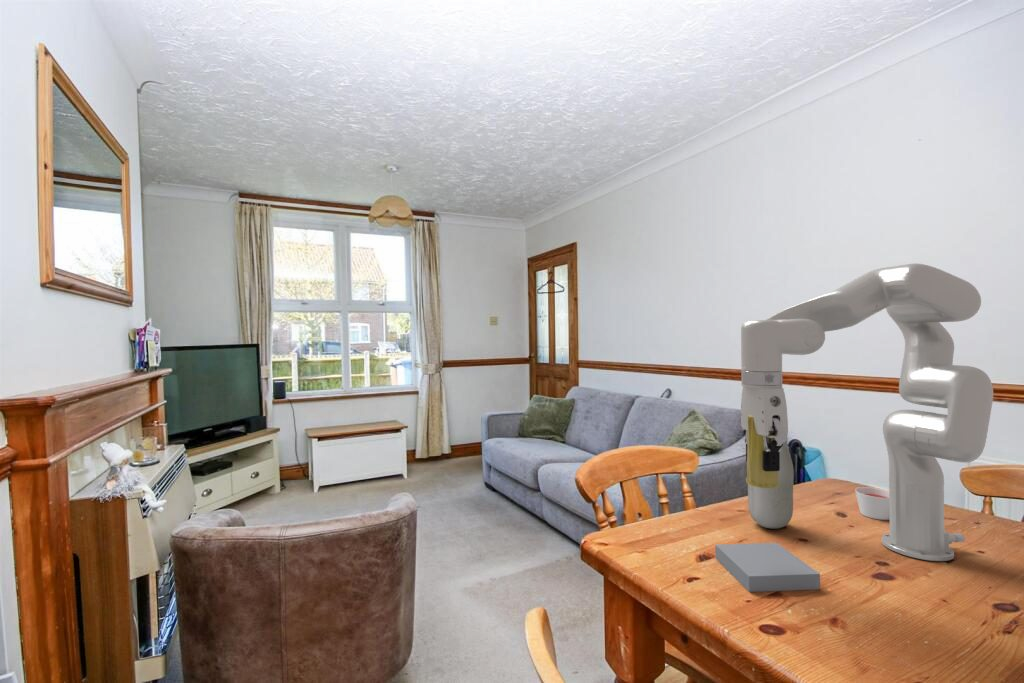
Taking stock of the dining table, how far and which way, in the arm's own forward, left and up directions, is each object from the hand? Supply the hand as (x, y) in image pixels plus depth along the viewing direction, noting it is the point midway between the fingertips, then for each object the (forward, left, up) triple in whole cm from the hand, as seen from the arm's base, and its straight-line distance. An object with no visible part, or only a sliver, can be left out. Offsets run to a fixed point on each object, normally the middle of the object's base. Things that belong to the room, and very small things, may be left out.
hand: (762, 465), depth 98 cm
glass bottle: (-15, -23, -23) cm, 36 cm away
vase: (0, 0, -4) cm, 4 cm away
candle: (-47, -28, -23) cm, 59 cm away
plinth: (0, 0, -22) cm, 22 cm away
